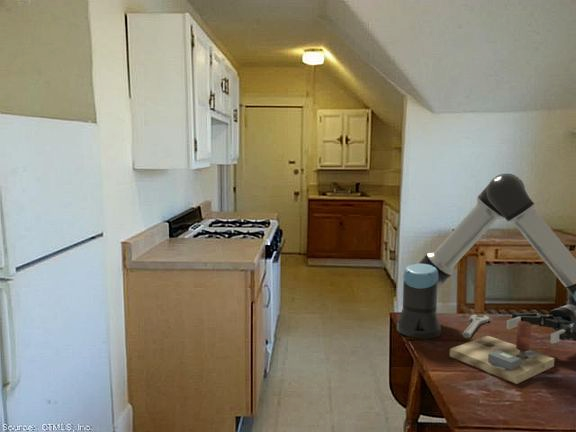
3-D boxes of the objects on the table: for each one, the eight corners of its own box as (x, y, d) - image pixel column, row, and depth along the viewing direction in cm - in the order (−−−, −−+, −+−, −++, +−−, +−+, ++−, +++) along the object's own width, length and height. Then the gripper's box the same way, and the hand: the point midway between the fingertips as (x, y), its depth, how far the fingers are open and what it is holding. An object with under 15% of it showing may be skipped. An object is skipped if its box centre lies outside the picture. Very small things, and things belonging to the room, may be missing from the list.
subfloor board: (449, 356, 149) (449, 348, 149) (487, 342, 160) (487, 335, 160) (516, 383, 131) (517, 374, 131) (553, 366, 142) (554, 358, 142)
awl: (512, 364, 144) (515, 322, 142) (519, 361, 146) (522, 320, 144) (524, 368, 141) (527, 326, 139) (530, 365, 143) (533, 323, 141)
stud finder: (488, 361, 139) (488, 353, 139) (497, 357, 142) (498, 349, 142) (510, 370, 134) (511, 362, 133) (520, 366, 136) (521, 358, 136)
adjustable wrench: (469, 340, 164) (469, 335, 164) (450, 335, 168) (451, 331, 168) (490, 320, 183) (490, 316, 183) (473, 317, 187) (473, 312, 187)
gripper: (606, 342, 145) (571, 358, 133) (527, 318, 165) (490, 330, 154) (608, 318, 144) (573, 332, 132) (528, 297, 164) (492, 308, 153)
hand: (529, 331), depth 143 cm, fingers open, 13 cm apart
